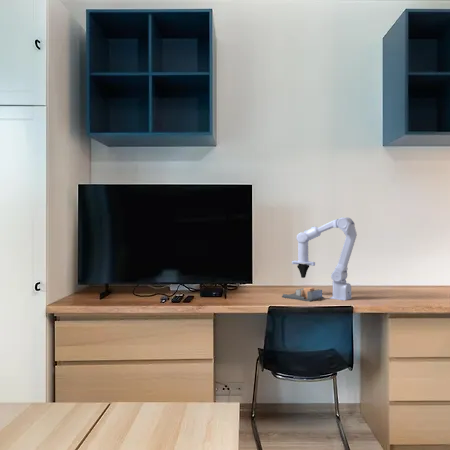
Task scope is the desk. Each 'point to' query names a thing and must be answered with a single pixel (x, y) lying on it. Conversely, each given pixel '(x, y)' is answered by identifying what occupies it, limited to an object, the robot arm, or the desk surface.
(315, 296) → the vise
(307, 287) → the block
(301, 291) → the moving jaw
